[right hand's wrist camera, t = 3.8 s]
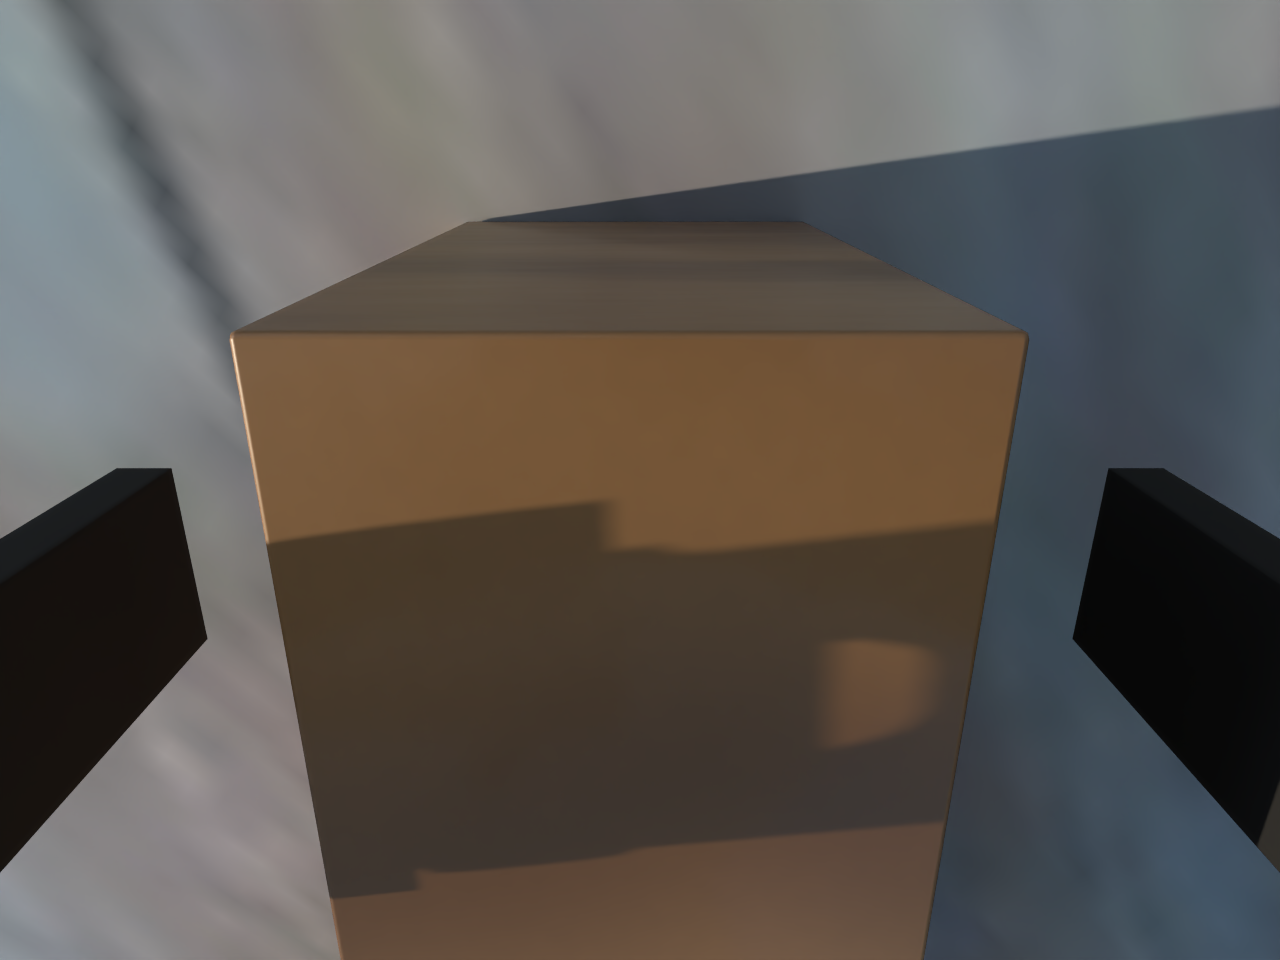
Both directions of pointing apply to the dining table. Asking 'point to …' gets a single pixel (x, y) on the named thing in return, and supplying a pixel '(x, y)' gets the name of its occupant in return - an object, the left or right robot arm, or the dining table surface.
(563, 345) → the bar
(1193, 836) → the dining table surface
